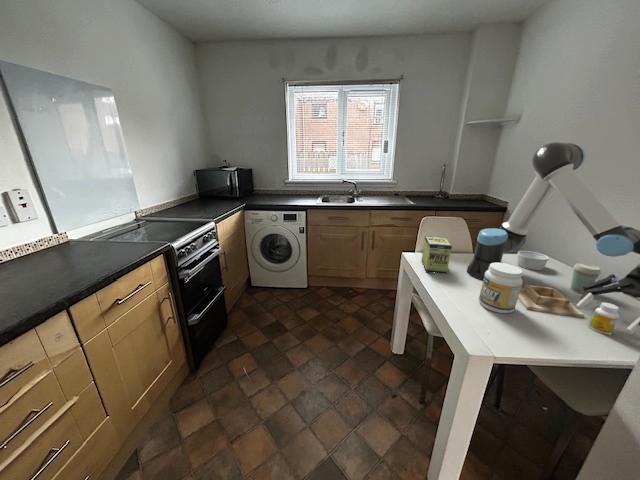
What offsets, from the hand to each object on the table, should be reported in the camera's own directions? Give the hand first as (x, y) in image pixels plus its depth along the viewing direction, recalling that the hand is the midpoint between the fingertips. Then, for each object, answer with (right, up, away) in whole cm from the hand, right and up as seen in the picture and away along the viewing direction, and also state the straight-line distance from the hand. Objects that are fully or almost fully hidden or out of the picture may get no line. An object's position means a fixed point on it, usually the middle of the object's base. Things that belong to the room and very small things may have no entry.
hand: (601, 318), depth 86 cm
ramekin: (+20, +12, +53) cm, 58 cm away
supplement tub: (-25, 0, +16) cm, 30 cm away
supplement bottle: (+2, -5, +2) cm, 5 cm away
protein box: (-35, +12, +51) cm, 63 cm away
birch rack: (-4, +1, +18) cm, 19 cm away
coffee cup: (+21, +4, +28) cm, 36 cm away
